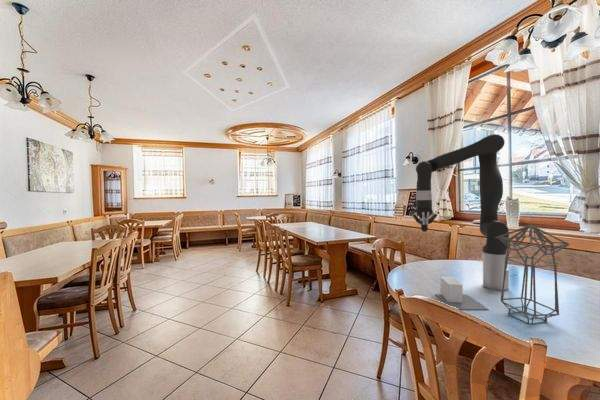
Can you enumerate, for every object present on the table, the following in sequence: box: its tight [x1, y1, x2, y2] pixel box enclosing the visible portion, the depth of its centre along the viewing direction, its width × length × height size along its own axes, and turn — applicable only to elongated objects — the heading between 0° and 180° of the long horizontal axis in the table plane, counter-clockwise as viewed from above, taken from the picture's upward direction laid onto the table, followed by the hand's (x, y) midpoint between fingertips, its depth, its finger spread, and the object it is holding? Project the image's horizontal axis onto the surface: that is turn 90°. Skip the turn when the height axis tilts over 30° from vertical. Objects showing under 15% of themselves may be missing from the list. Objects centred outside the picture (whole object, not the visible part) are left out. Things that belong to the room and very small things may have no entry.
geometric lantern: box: [496, 225, 570, 325], centre depth 92 cm, size 16×16×35 cm
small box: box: [439, 276, 463, 303], centre depth 112 cm, size 8×6×10 cm
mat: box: [434, 293, 489, 311], centre depth 108 cm, size 14×15×1 cm
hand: (424, 231), depth 133 cm, fingers closed
